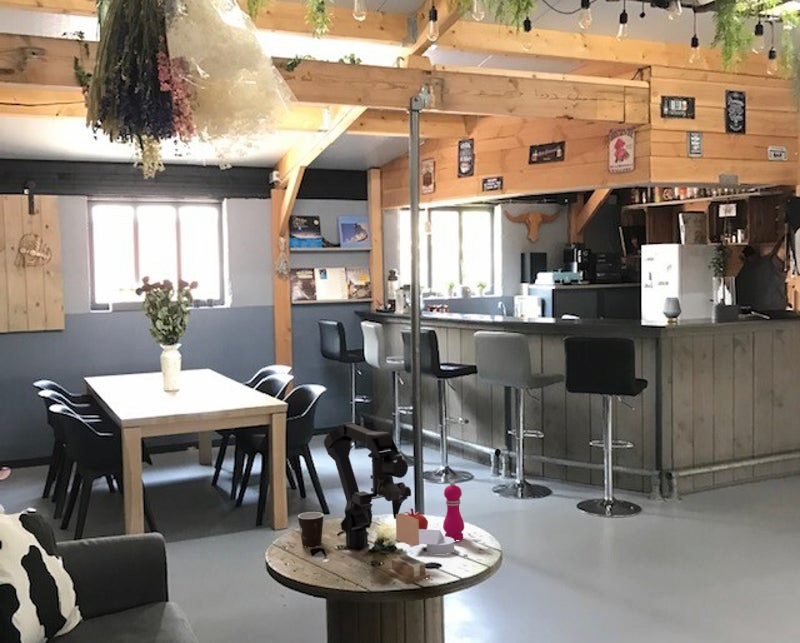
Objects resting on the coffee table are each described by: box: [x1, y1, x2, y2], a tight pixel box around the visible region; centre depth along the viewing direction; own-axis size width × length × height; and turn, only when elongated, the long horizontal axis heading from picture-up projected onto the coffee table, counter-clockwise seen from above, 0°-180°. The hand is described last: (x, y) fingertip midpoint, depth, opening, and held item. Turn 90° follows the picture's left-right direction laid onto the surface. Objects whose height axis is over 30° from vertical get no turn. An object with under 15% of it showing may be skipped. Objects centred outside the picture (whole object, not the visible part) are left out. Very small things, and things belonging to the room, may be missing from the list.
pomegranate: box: [403, 507, 429, 530], centre depth 285 cm, size 10×10×9 cm
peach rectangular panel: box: [395, 512, 420, 547], centre depth 244 cm, size 9×2×8 cm, turn 31°
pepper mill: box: [442, 480, 465, 541], centre depth 278 cm, size 7×7×20 cm
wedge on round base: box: [419, 528, 455, 555], centre depth 268 cm, size 9×7×13 cm
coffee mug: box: [297, 511, 324, 548], centre depth 276 cm, size 12×9×10 cm
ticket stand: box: [387, 553, 431, 585], centre depth 244 cm, size 11×8×5 cm
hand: (382, 521), depth 260 cm, fingers open, 9 cm apart
